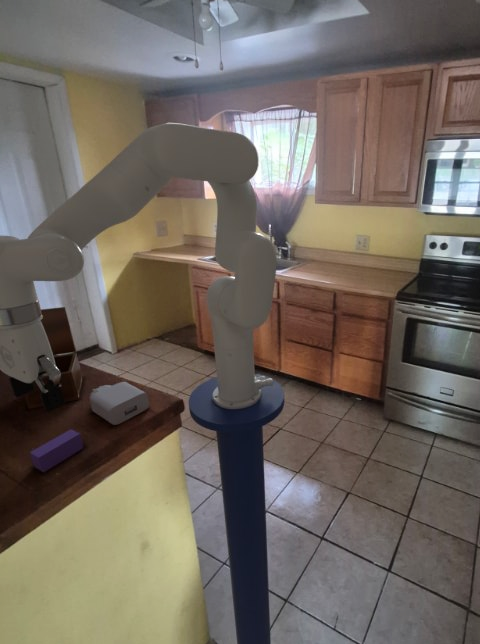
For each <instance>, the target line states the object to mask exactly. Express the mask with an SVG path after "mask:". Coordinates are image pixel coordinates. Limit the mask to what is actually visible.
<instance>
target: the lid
mask: <svg viewBox="0 0 480 644" xmlns="http://www.w3.org/2000/svg"><path fill="white" fill-rule="evenodd" d="M41 312H42V316H43V318H42V320H40V321H41V323H42V325H43V327H44V330H45V332H46V335H47V338H48V341H49V343H50V346H51V350H52V353H53V356H58V355H65V354H72V353H77V348H76V345H75V340H74V337H73V333H72V329H71V325H70V321H69V317H68V314H67V313H68V312H67V309H66V306H61V307H51V308H50V307H49V308H43V309H42V308H41Z"/></svg>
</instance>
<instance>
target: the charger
mask: <svg viewBox="0 0 480 644" xmlns="http://www.w3.org/2000/svg"><path fill="white" fill-rule="evenodd" d="M91 391H92V392H91V393H90V394H89V404H90V407H91V410H92V412H93V413H94V414H96V415H97V416H99V417H101V418H102V419H104V420H105V421H107V422H108V423H110V424H112V425H113V426H117V425H120V424H122V423H124V422H126V421H127V420H129V419H131V418H133V417H135V416H137V415H139V414H140V413H142V412H145V411H146V410H147V409H148V408H149V407H150V401H149V396H148V393H147V392H145V391H143V390H142V389H140V388H138V387H136V386H134V385H132V384H130V383H129V382H127V381H120V382H118V383H115V384H113V385H111V384H110V385H109V384H104V385H99V386H98V387H97V388H92V389H91Z"/></svg>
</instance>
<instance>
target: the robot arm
mask: <svg viewBox="0 0 480 644" xmlns="http://www.w3.org/2000/svg"><path fill="white" fill-rule="evenodd" d="M259 164H260V156H259V152H258V150H257V147H256V145H255V144H254V142H252V140H251V139H249V137H247V136H246V135H244V134H242V133H239V132H235V131H229V130H221V129H215V128H208V127H202V126H196V125H192V124H191V125H190V124H184V123H179V122H166V123H165V122H164V123H161V124H157V125H154V126H151V127H148V128H147V129H145V130H143V131H142V132H141V133H140V134H139V135H138V136H136V137H135V138H134V139H133V140H132V141H131V142H130V143H129V144H127V146H126V147H124V148H123V149H122V150H121V151H120V152H119V153H118V154H117V155H116V156H115V157H114V158H113V159H111V161H109V163H108V164H106V165H105V166H104V167H103V168H102V169H101V170H100V171H99V172H98V173H96V174H95V175H94V176H93V177H92V178H91V179H89V180H88V181H87V182H86V183H85V184H84V185H82V187H80V189H79V190H78V191H76V192H75V193H74V194H73V195H72V196H70V197H69V198H68V199H67V200H65V202H63V203H61V205H60V206H59V207H57V208H56V209H55V210H54V211H53V212H52V213H50V214H49V216H47V217H46V218H45V219H44V220H43V221H42V222H41V223H40V224H39V225H38V226H37V227H36V228H34V230H33V231H32V232H31V233H30V234H29V235H28V237H27V238H23V239H19V238H18V237H15V236H11V235H0V371H1V372H2V373H3V374H5V375H6V376H7V377H8V380H9V383H10V386H11V389H12V393H13V395H14V397H15V398H20V397H22V396H24V394H27V393H29V392H32V391H33V390H34V386H33V383H32V382H33V381H35V382H36V383H37V385H38V386H39V388H40V389H41V391H42V392H40V396H41V400H42V403H43V406H42V407H43V410H44V412H45V413H51V412H53V411H55V410H57V409H59V408H62V407H64V406H65V403H66V402H64V398H63V395H62V391H61V372H60V370H59V369H58V368H57V367H56V365H55V360H54V356H55V355H53V353H52V350H51V346H50V343H49V341H48V338H47V335H46V332H45V330H44V327H43V325H42V323H41V321H40V320H42V318H43V316H42V312H41V309H42V308H41V305H40V300H39V297H38V294H37V290H36V286H35V282H64V281H69V280H71V279H73V278H75V277H77V276H78V275H79V274H80V273H81V272H82V271H83V268H84V265H85V256H84V253H83V251H82V250H83V249H84V248H85V247H87V245H88V244H89V243H91V242H92V241H93V240H94V239H95V238H96V237H97V236H99V235H100V234H102V233H103V232H105V231H106V230H108V229H109V228H111V227H114V226H117V225H120V224H122V223H125V222H127V221H129V220H130V219H132V218H134V217H135V216H137V215H138V214H139V213H140V212H141V211H142V210H143V209H144V208H145V207H146V206H147V205H148V204H149V203H150V202H151V201H152V200H153V199H154V198H155V197H156V196H157V195H158V194H159V193H160V192H161V191H162V190H163V189H164V188H165V187H167V185H168V184H169V183H170V182H171V181H173V180H174V179H184V180H191V181H199V182H207V183H208V184H209V186H210V187H211V189H212V191H213V193H214V195H215V199H216V206H217V207H216V209H217V211H216V214H217V215H216V216H217V217H216V230H215V244H214V257H215V261H216V263H217V264H218V265H219V266H220V267H221V268H223V269H224V270H226V271H228V272H231V273H233V274H234V276H231V275H223V276H219V277H217V278H215V279H214V280H213V281H212V282H211V283H210V285H209V286H208V288H207V290H206V291H207V292H206V306H207V311H208V315H209V318H210V322H211V328H212V337H213V349H214V360H215V370H216V377H217V383H218V387H217V388H216V389H215V390H214V392H213V395H212V396H213V401H214V403H215V404H217V405H218V406H220V407H222V408H226V409H242V408H246V407H249V406H251V405H253V404H255V403H256V402H258V401H259V399H260V398H261V389H262V387H267V386H272V385H273V380H274V379H273V378H271V377H269V378H270V379H265V376H266V375H264V376H261V377H257V378H256V377H255V374H256V372H255V352H254V349H255V348H254V331H253V330H256V329H259V328H260V327H261V326H263V325H264V324H265V323H266V322H267V320H268V318H269V316H270V314H271V310H272V307H273V300H274V292H275V283H276V275H277V265H278V259H277V257H278V256H277V252H276V249H275V246H274V244H273V243H272V241H271V240H270V239H269V238H268V237H266V236H265V235H264V234H261V233H259V232H257V219H258V217H257V215H258V202H257V201H258V200H257V197H256V192H255V189H254V187H253V185H252V184H253V183H252V182H251V181H250V180H252V178H254V176H255V175H256V174H257V172H258V169H259ZM43 371H45V372H46V373H44V374H41V375H39V376H38V373H40V372H43ZM47 377H49V379H50V380H48V381H47V383H46V385H45V384H44V382H43V381H42V379H44V378H47ZM272 379H273V380H272Z"/></svg>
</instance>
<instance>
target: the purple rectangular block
mask: <svg viewBox="0 0 480 644" xmlns="http://www.w3.org/2000/svg"><path fill="white" fill-rule="evenodd" d="M83 449H84V445H83V440H82V437H81V434H80V432H77V431H75V430H73V429H69V430H67V431H65V432H63V433H62V434H59V435H58V436H57V437H55V438H52V439H51V440H49V441H48V442H45V443H44V444H42V445H40V446H38V447H37V448H35V449H33V450H31V451H30V452H29V455H30V458H31V461H32V463H33V467H34V468H35V469H36V470H39V471H40V472H42V473H45V472H47V471H49V470H51V469H52V468H53V467H55V466H57V465H58V464H61V463H62V462H63V461H65V460H66V459H68V458H70V457H71V456H73V455H75V454H76V453H78V452H79V451H81V450H83Z"/></svg>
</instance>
